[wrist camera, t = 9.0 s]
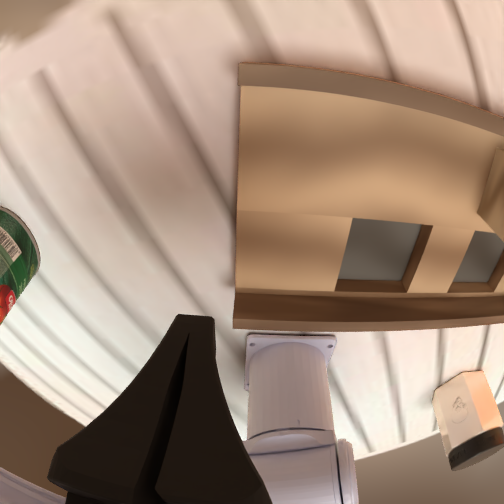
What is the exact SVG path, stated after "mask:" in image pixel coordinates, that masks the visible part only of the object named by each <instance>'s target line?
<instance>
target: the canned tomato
mask: <svg viewBox="0 0 504 504" xmlns="http://www.w3.org/2000/svg"><path fill="white" fill-rule="evenodd" d="M39 267H40V254H39V250H38V246H37V244H36V241H35V239H34V237H33V235H32V234H31V232H30V230H29V229H28V228H27V226H26V225H25V224H24V223H23V221H22V220H21V219H20V218H19V217H17V216H16V215H15V214H14V213H12V212H11V211H9V210H7V209H5V208H2V207H0V325H1V324H2V322H3V320H4V319H5V317H6V316H7V314H8V312H9V311H10V310H11V308H12V306H13V305H14V304H15V302H16V300H17V299H18V298H19V296H20V294H21V293H22V292H23V291H24V289H25V287H26V286H27V285H28V283H29V282H30V280H31V279H32V277H33V276H34V275H35V274H36V273H37V272H38V269H39Z"/></svg>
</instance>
